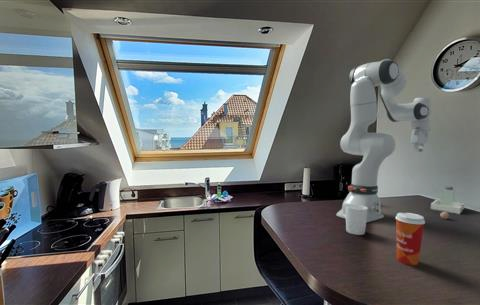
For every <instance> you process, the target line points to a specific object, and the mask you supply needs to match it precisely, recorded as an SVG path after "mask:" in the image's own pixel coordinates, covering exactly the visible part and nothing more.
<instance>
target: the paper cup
mask: <svg viewBox="0 0 480 305" xmlns="http://www.w3.org/2000/svg"><path fill="white" fill-rule="evenodd" d="M395 220H396V222H395V223H396V224H395V225H396V226H395V227H396V228H395V230H396V239H395V240H396V242H395V244H396V245H395V246H396V260H397V261H398V262H399V263H401V264H404V265H408V266H417V265H419V260H420V255H421V248H422V240H423V235H424V234H423V233H424V227H425V226H424V225H425V224H426V220H425V218H424V216H422V215H420V214H416V213H413V212H412V213H411V212H398V213H397V214H396V215H395Z"/></svg>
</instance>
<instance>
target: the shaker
mask: <svg viewBox="0 0 480 305" xmlns="http://www.w3.org/2000/svg"><path fill="white" fill-rule="evenodd" d="M455 191H456V190H455V188H454V187H453V186H446V185H445V186H444V188H442V191H441V192H442V193H441V200H442V203H441V205H446V206H452V207H453V205H454V202H455V193H456V192H455Z"/></svg>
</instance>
